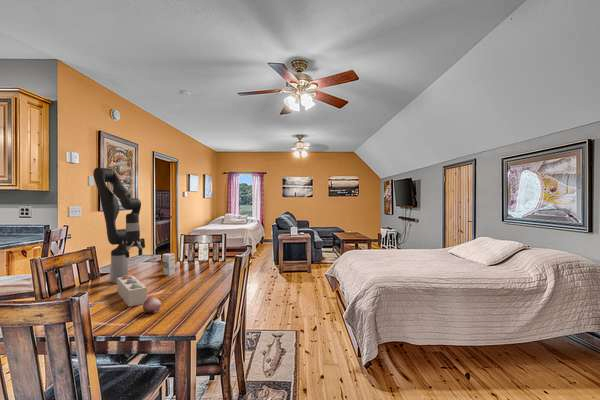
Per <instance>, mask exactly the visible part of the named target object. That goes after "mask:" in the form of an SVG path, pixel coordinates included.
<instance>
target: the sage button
mask: <svg viewBox="0 0 600 400" xmlns="http://www.w3.org/2000/svg"><path fill="white" fill-rule="evenodd" d="M136 288H141V284H140V283H134V284H132V289H136Z"/></svg>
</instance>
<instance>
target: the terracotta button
mask: <svg viewBox="0 0 600 400" xmlns="http://www.w3.org/2000/svg"><path fill="white" fill-rule="evenodd" d="M131 276H132V274H128V275H123V280H125V279H131Z"/></svg>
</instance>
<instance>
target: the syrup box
mask: <svg viewBox="0 0 600 400" xmlns="http://www.w3.org/2000/svg"><path fill="white" fill-rule="evenodd" d="M175 261H176V260H175V253H171V252H170V253H169V252H167V253H163V254H162V276H168V277H169V276H173V275H175V274H176V273H175V272H176V271H175V269H176V268H175Z"/></svg>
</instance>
